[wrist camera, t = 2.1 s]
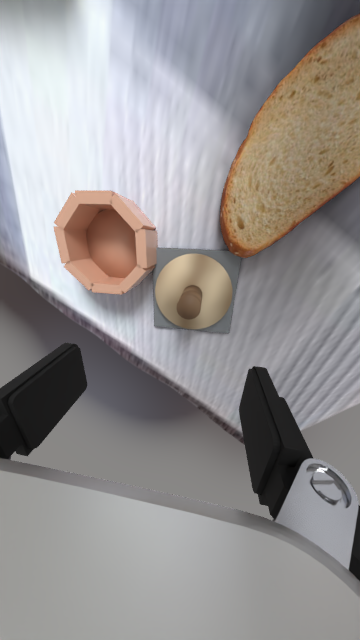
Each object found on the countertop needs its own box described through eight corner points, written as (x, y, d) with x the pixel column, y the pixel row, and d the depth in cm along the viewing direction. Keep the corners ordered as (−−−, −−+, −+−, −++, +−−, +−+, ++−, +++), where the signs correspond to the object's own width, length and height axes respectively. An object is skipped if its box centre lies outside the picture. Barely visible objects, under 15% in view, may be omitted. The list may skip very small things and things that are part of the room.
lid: (237, 255, 24) (246, 260, 18) (226, 330, 28) (230, 353, 23) (155, 251, 25) (139, 255, 19) (157, 323, 30) (144, 344, 24)
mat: (241, 251, 24) (242, 251, 24) (228, 331, 29) (229, 333, 28) (153, 247, 26) (152, 247, 25) (155, 324, 30) (154, 326, 30)
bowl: (156, 200, 23) (143, 190, 19) (158, 287, 28) (148, 296, 23) (75, 199, 25) (45, 190, 20) (89, 282, 29) (67, 290, 25)
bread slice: (220, 260, 24) (222, 262, 21) (216, 66, 18) (218, 24, 14) (378, 245, 21) (411, 245, 18) (444, 4, 15) (516, -70, 11)
